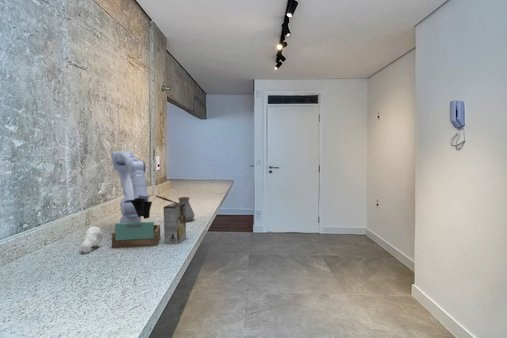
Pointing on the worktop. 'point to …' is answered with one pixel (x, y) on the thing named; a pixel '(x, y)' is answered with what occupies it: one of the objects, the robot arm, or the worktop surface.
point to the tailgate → (134, 230)
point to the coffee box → (174, 223)
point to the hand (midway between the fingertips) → (143, 217)
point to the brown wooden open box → (137, 240)
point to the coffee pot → (188, 209)
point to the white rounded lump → (91, 239)
